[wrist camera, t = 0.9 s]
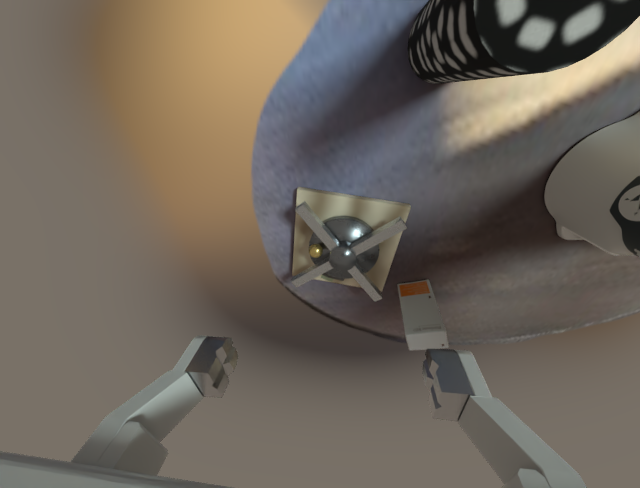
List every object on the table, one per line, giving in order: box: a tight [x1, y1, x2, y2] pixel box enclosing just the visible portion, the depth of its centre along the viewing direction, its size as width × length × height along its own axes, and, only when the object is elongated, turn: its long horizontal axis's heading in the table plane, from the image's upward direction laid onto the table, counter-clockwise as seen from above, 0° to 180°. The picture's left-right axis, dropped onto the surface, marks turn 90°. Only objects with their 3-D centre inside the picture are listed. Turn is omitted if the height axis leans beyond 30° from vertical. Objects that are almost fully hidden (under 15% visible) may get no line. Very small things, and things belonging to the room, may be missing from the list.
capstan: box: [291, 201, 407, 302], centre depth 41 cm, size 17×17×4 cm
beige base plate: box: [292, 187, 411, 291], centre depth 43 cm, size 18×18×1 cm
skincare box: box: [397, 279, 449, 350], centre depth 42 cm, size 6×4×12 cm
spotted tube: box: [408, 0, 640, 84], centre depth 19 cm, size 8×8×20 cm
